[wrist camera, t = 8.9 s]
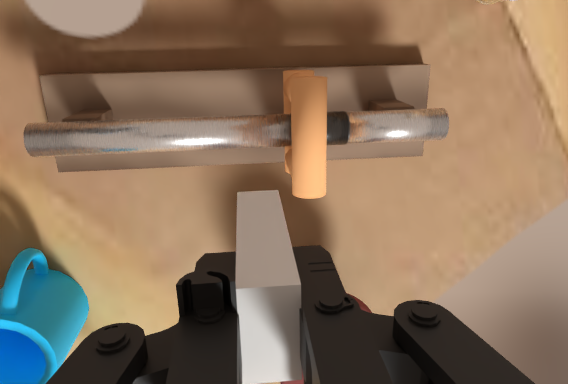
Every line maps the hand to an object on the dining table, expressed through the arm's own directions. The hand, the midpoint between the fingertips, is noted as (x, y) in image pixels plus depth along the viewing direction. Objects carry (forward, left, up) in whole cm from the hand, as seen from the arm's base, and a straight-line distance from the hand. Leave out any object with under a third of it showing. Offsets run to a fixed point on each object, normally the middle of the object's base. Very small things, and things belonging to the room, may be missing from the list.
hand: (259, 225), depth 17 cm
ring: (0, +4, -21) cm, 22 cm away
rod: (0, 0, -18) cm, 18 cm away
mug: (+16, -20, -25) cm, 36 cm away
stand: (0, 0, -24) cm, 24 cm away
